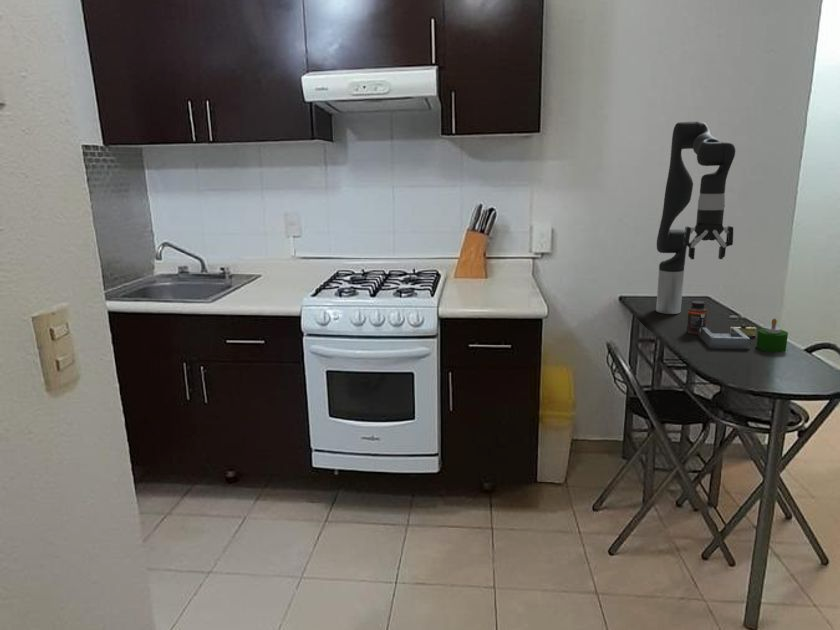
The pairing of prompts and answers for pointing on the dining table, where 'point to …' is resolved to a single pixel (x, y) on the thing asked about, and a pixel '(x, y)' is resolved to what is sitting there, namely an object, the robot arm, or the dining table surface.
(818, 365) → the dining table surface
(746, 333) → the bar
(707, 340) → the dock
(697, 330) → the supplement bottle
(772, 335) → the candle
